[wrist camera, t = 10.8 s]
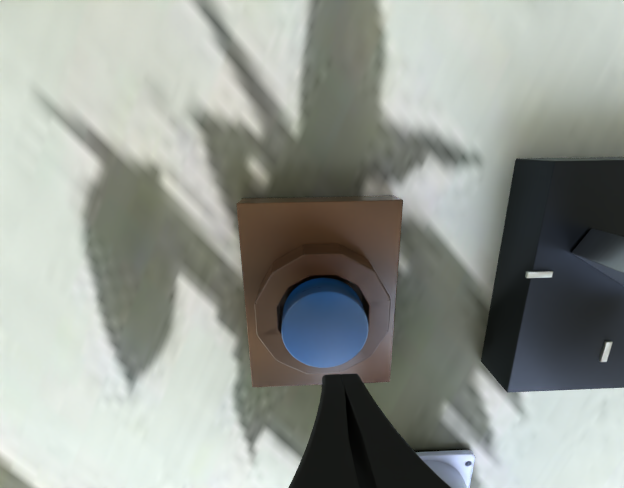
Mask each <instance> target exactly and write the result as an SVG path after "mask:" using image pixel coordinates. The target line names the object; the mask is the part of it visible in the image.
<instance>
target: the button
mask: <svg viewBox="0 0 624 488" xmlns="http://www.w3.org/2000/svg"><path fill="white" fill-rule="evenodd" d="M368 331H369V324H368V319H367V316H366V313H365V311H364V308H363V306H362V303H361V301H360V298H359V297H358V295H357V293H356V292H355V291H354V290H353V289H352V288H351V287H350V286H349V285H347V284H346V283H344V282H342V281H339V280H336V279H332V278H316V279H311V280H308V281H306V282H304V283H302V284H300V285H299V286H297V287H296V288H295V289H294V290H293V291H292V292H291V293H290V295H289V296H288V298H287V300H286V302H285V304H284V308H283V316H282V326H281V334H282V339H283V342H284V345H285V347H286V348H287V350H288V351H289V353H290V354H291V355H292V356H293V357H294V358H295V359H297V360H298V361H300V362H302V363H304V364H306V365H309V366H313V367H319V368H328V367H334V366H338V365H341V364H343V363H346V362H347V361H349V360H351V359H352V358H353V357H355V356H356V355H357V354H358V353H359V352H360V350H361V349H362V348H363V346H364V344H365V342H366V340H367V336H368Z"/></svg>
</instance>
